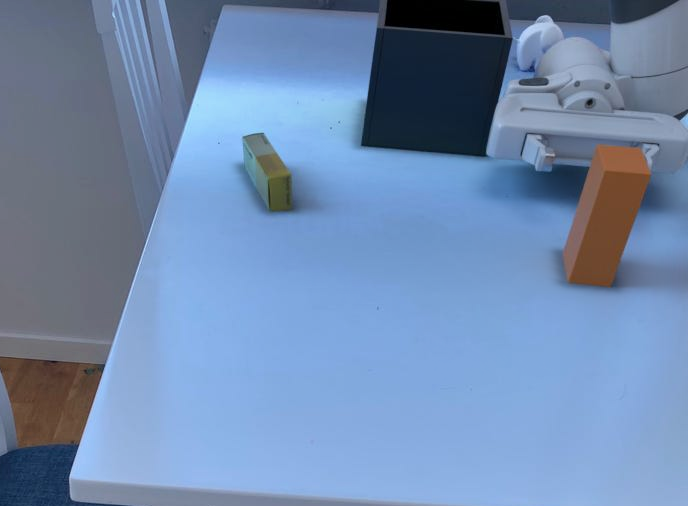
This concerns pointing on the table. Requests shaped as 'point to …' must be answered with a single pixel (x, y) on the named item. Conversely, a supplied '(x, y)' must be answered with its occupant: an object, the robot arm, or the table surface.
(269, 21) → the table surface
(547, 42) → the elephant figurine
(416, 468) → the table surface
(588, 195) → the block
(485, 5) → the trash can
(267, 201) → the medication box
